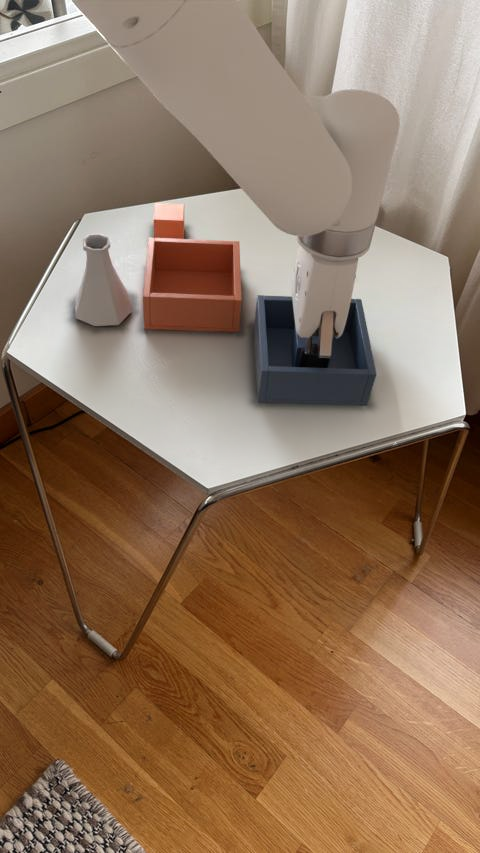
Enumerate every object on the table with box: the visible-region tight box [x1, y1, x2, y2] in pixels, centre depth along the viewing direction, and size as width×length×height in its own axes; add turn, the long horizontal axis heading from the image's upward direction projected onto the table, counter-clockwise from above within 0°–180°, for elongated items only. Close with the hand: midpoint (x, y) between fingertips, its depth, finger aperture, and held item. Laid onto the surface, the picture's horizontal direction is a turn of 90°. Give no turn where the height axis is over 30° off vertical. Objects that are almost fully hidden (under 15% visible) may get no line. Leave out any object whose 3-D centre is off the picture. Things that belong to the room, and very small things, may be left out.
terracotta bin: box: [142, 237, 243, 333], centre depth 89 cm, size 12×12×5 cm
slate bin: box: [253, 294, 377, 406], centre depth 83 cm, size 13×13×5 cm
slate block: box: [291, 325, 332, 368], centre depth 83 cm, size 4×4×4 cm
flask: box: [74, 233, 132, 327], centre depth 85 cm, size 7×7×10 cm
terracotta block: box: [153, 202, 185, 239], centre depth 97 cm, size 4×4×4 cm
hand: (309, 356), depth 84 cm, fingers open, 4 cm apart
